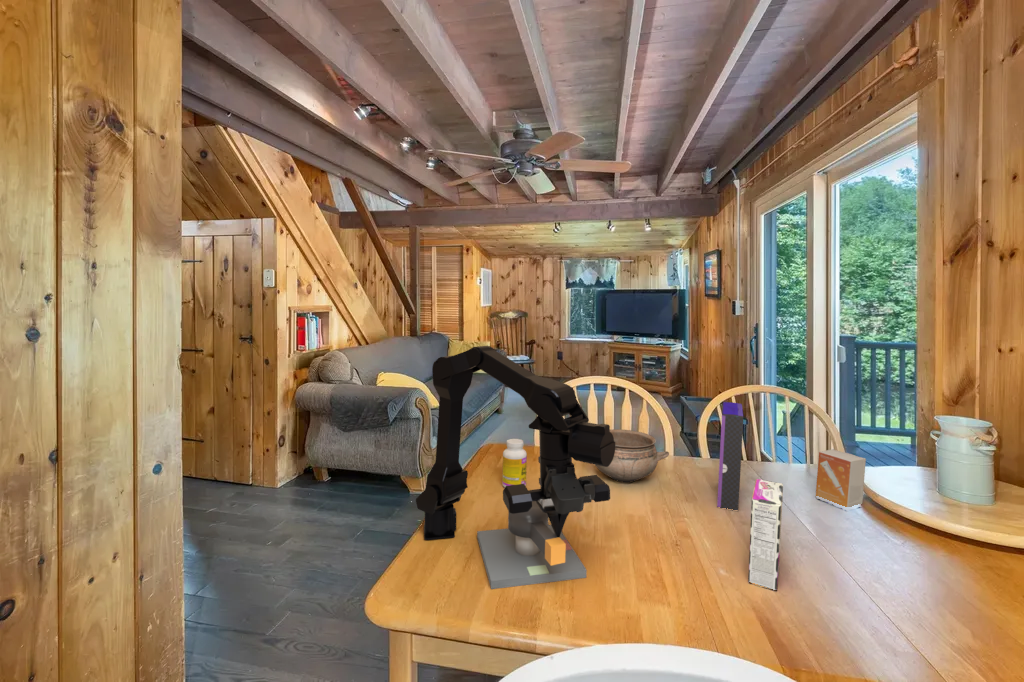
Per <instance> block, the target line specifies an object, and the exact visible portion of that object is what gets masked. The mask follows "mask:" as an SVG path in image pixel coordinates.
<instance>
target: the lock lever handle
mask: <svg viewBox="0 0 1024 682" xmlns="http://www.w3.org/2000/svg"><path fill="white" fill-rule="evenodd" d="M507 511H508V510H507ZM507 515H508V516H507V517H508V519H507V522H508V523H507V524H508V525H507V526H508V527H507V528H508V529H509V531H510V532H511V533H512V534H514V535H516V536H519V537H524V538H531V539H532V541H533V542H534V543H535V544H536V546H537V547H538V548H539V549H540V550H541V552H542V553H543V554H544V555H545V559H546V560H547V562H548V563H549V564H550V565H551V566H552V565H556V564H561V563H565V552H566V544H565V543H564V542H563V540H562V539H561V538H560V537H557V536H556V535H555V534H554V533H553V532H552V531H551V530H550V529H549V528H548V525H549V517H548V515H547V513H544V512H542V510H541V509H540V507H539V506H538V504H537V503H536V501H532V507H531V509H530V510H529V511H528V512H522V513H515V514H512V513H509V511H508V514H507Z"/></svg>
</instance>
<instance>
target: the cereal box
mask: <svg viewBox="0 0 1024 682" xmlns="http://www.w3.org/2000/svg"><path fill="white" fill-rule="evenodd" d="M720 427H721V429H720V445H719V446H720V448H719V463H718V464H719V466H718V483H717V484H718V486H717V504H716V505H717V506H716V508H717V507H720V508H719V509H722V508H726V509H725V510H727V508H728V509H733V510H738V511H739V503H740V487H741V485H740V483H741V468H742V467H741V466H742V465H741V464H742V449H743V432H744V431H743V430H744V429H743V428H744V412H743V404H742V403H738V402H729V401H728V402H727V401H723V402H722V411H721V426H720ZM733 510H732V511H733Z"/></svg>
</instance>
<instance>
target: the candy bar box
mask: <svg viewBox="0 0 1024 682" xmlns="http://www.w3.org/2000/svg"><path fill="white" fill-rule="evenodd" d="M783 492H784V484H783V483H781V482H776V481H771V480H765V479H761V478H758V479H757V478H756V479H755V483H754V488H753V492H752V497H751V512H750V534H749V535H750V536H749V555H748V556H749V557H748V578H747V579H748V580H747V583H749V582H751V583H755V584H758V585H760V586H764V587H767V588H770V589H773V590H772V591H774V590H777V591H778V586H779V585H778V584H779V573H780V571H779V570H780V558H781V555H780V553H781V538H782V537H781V536H782V517H783V516H782V515H783V499H784V498H783V496H784V494H783ZM760 586H759V587H760ZM767 588H766V589H767ZM770 589H769V590H770Z"/></svg>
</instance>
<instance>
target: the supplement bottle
mask: <svg viewBox="0 0 1024 682" xmlns="http://www.w3.org/2000/svg"><path fill="white" fill-rule="evenodd" d="M506 447H507V448H505V449H504V450H503V451H502V487H503V488H505V487H506V486H510V485H518V484H524V485H525V486H527V457H528V456H527V451H526V450H525V449H524V440H522V439H520V438H510V439H507V440H506Z"/></svg>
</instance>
